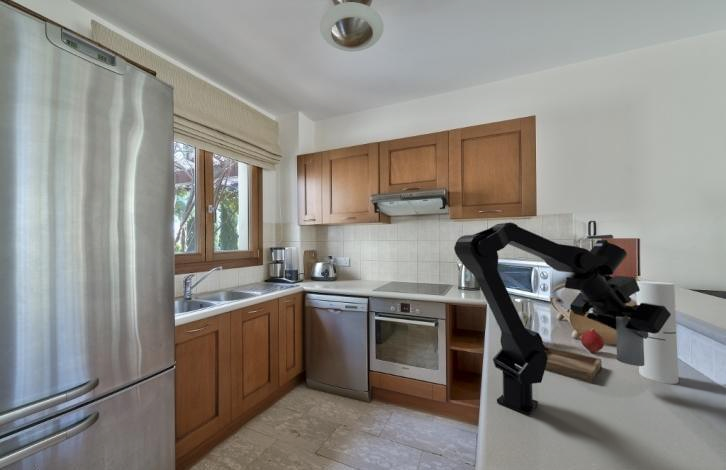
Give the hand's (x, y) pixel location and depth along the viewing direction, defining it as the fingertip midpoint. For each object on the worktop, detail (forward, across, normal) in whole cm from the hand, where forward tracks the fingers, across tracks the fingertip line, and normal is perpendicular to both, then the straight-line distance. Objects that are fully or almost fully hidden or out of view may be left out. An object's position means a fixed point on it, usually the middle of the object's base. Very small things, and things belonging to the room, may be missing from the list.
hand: (634, 333), depth 68 cm
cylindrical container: (+19, +4, 0) cm, 20 cm away
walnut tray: (+6, +14, +13) cm, 20 cm away
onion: (+19, +22, 0) cm, 29 cm away
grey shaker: (+4, 0, +6) cm, 7 cm away
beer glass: (+9, +36, +10) cm, 38 cm away
